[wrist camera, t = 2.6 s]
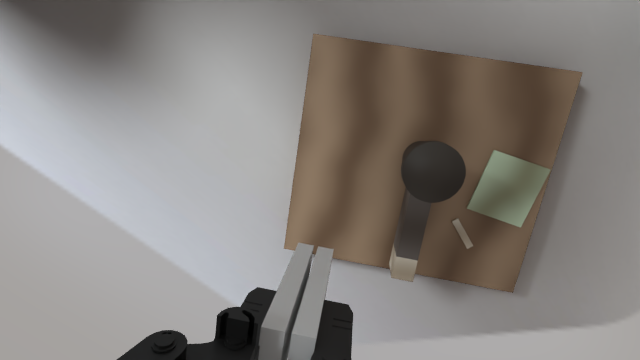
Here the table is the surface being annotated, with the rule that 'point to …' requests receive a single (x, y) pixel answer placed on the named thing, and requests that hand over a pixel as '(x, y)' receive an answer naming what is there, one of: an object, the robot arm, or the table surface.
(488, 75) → the board
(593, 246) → the table surface
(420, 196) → the peg
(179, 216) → the table surface
